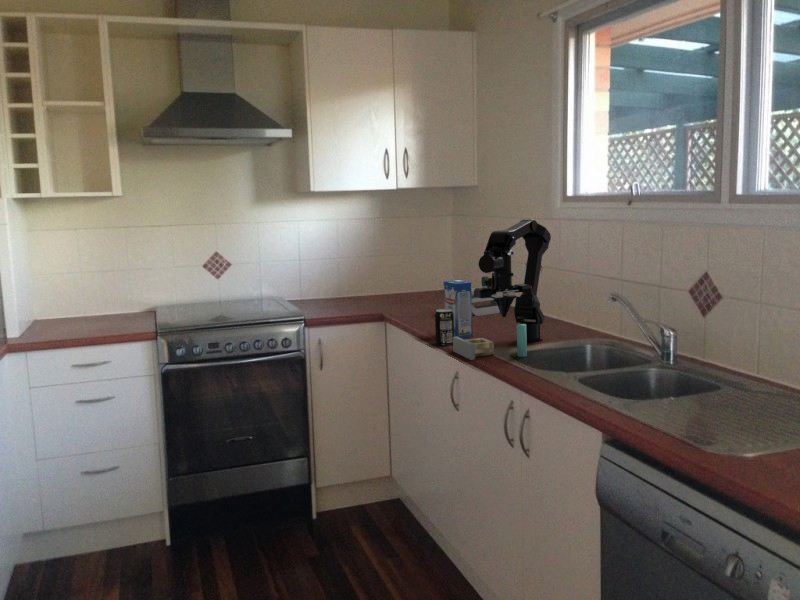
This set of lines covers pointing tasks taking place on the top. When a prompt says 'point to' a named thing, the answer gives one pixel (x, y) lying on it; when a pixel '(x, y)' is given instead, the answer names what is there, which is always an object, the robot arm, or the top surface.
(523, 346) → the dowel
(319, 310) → the top surface
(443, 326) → the beverage can
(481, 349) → the sliding block
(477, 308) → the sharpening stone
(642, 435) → the top surface
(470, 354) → the wall
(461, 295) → the milk carton
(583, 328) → the top surface
